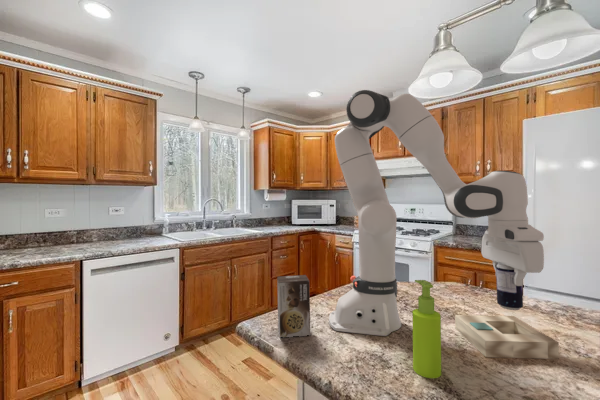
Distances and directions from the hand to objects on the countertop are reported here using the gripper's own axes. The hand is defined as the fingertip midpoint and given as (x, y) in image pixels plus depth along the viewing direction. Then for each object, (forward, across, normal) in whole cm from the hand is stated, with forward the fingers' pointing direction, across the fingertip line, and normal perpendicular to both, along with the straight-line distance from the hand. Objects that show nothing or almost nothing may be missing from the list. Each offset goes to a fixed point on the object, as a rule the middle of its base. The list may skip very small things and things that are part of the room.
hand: (508, 281), depth 78 cm
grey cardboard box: (+16, -3, -59) cm, 61 cm away
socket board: (+16, 0, -2) cm, 17 cm away
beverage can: (+7, 0, 0) cm, 7 cm away
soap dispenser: (+16, +14, -27) cm, 35 cm away
